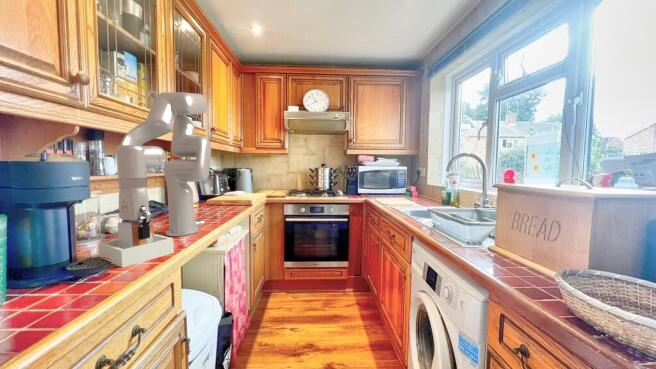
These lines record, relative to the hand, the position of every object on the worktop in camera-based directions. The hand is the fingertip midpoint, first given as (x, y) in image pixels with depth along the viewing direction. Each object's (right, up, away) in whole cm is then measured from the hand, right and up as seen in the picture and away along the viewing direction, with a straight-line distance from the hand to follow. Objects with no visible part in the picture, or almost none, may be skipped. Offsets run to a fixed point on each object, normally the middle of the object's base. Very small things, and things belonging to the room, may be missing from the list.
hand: (136, 236), depth 89 cm
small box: (0, -6, +1) cm, 6 cm away
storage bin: (0, -6, 0) cm, 6 cm away
